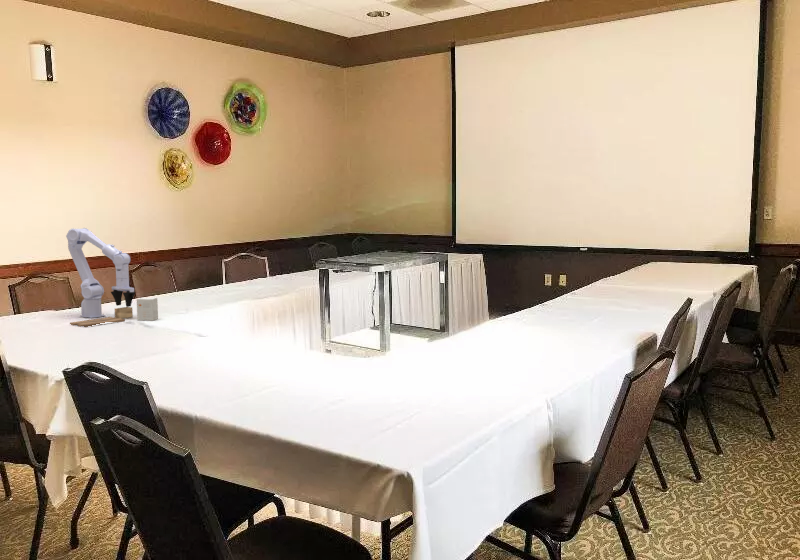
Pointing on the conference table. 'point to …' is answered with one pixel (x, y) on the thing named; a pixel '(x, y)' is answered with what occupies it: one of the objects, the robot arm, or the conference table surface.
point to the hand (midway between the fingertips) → (123, 305)
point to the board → (96, 321)
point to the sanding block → (123, 312)
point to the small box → (147, 309)
